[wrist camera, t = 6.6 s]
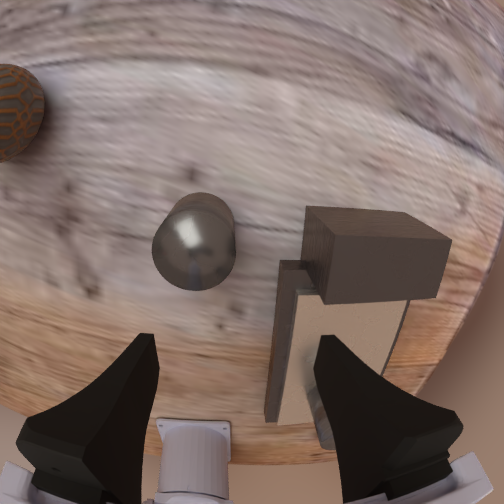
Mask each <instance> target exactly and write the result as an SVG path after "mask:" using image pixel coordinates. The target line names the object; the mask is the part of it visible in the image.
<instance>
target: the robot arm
mask: <svg viewBox="0 0 504 504" xmlns="http://www.w3.org/2000/svg"><path fill="white" fill-rule="evenodd" d="M159 369H160V367H159V362H158V356H157V351H156V345H155V339H154V334H148V333H140V334H139V335H138V336H137V337H136V338H135V339H134V340H133V341H132V343H131V344H130V345H129V346H128V347H127V348H126V349H125V350H124V352H123V353H122V354H121V355H120V356H119V357H118V358H117V359H116V360H115V361H114V362H113V363H112V364H111V365H110V366H109V367H108V368H107V369H106V370H105V371H104V372H103V373H102V374H101V375H100V376H99V377H98V378H97V379H95V380H94V381H93V382H92V383H91V384H89V385H88V386H87V387H85V388H84V389H83V390H81V391H80V392H78V393H77V394H75V395H74V396H72V397H71V398H69V399H67V400H66V401H64V402H62V403H60V404H59V405H57V406H55V407H53V408H51V409H48V410H46V411H44V412H41V413H39V414H36V415H34V416H31V417H28V418H27V419H26V421H25V423H24V425H23V427H22V429H21V431H20V434H19V436H18V438H17V440H16V445H17V447H18V449H19V451H20V452H21V453H22V454H23V456H24V457H25V458H26V459H27V460H28V461H29V462H30V463H31V464H32V465H33V466H34V467H35V468H36V469H35V472H34V474H33V473H32V472H30V471H28V470H27V469H24V468H22V467H20V466H18V465H15V464H14V463H11V462H9V461H6V463H5V465H4V468H3V471H2V473H1V476H0V504H141V483H142V464H143V452H144V442H145V435H146V429H147V425H148V421H149V417H150V413H151V409H152V405H153V402H154V398H155V394H156V390H157V385H158V377H159ZM313 370H314V376H315V381H316V385H317V389H318V392H319V395H320V398H321V401H322V404H323V406H324V409H325V412H326V415H327V418H328V420H329V423H330V426H331V430H332V433H333V438H334V442H335V447H336V452H337V458H338V463H339V470H340V477H341V485H342V496H343V504H475V503H477V502H478V501H479V500H481V499H482V498H484V497H485V496H486V495H487V494H489V493H490V492H492V491H493V487H492V485H491V483H490V481H489V479H488V477H487V475H486V473H485V472H484V470H483V468H482V466H481V464H480V463H479V461H478V459H477V457H476V455H475V454H474V452H473V451H471V452H469V453H468V454H465V455H463V456H461V457H459V458H457V459H455V460H454V461H452V462H451V463H450V464H449V462H448V460H447V458H449V457H450V454H449V452H448V448H449V447H450V446H451V445H452V444H453V443H454V441H455V440H456V439H457V438H458V437H459V436H460V434H461V433H462V430H463V424H462V423H461V421H460V419H459V418H458V416H457V415H456V413H455V411H452V410H449V409H446V408H442V407H439V406H436V405H433V404H431V403H428V402H426V401H423V400H421V399H419V398H416V397H415V396H413V395H411V394H409V393H407V392H405V391H403V390H401V389H400V388H398V387H396V386H395V385H393V384H392V383H390V382H389V381H387V380H386V379H384V378H383V377H382V376H380V375H379V374H378V373H376V372H375V371H374V370H373V369H371V368H370V367H369V366H368V365H367V364H365V363H364V362H363V361H362V360H361V359H360V358H359V357H358V356H356V355H355V354H354V353H353V352H352V351H351V350H350V349H349V348H348V347H347V346H346V345H345V344H344V343H343V342H342V341H341V340H340V339H339V338H338V337H336V336H335V335H334V334H333V335H321V338H320V342H319V347H318V351H317V355H316V359H315V363H314V367H313ZM156 425H157V428H158V430H159V433H160V436H161V439H162V442H163V449H162V456H161V464H160V473H159V482H158V491H157V492H156V493H155V501H154V500H153V499H147V501H144V502H143V503H142V504H233V501H232V500H229V487H228V462H229V461H231V446H230V423H229V422H227V421H192V420H175V419H162V418H158V419H156Z"/></svg>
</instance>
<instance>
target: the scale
mask: <svg viewBox="0 0 504 504" xmlns="http://www.w3.org/2000/svg"><path fill="white" fill-rule="evenodd" d="M451 243H452V239H450V238H448V237H447V236H445V235H443V234H442V233H440V232H438V231H437V230H435V229H433V228H432V227H430V226H428V225H426V224H425V223H423V222H421V221H419V220H418V219H416V218H414V217H412V216H410V215H408V214H407V213H405V212H394V211H382V210H369V209H354V208H339V207H321V206H306V213H305V223H304V233H303V243H302V252H301V260H280V265H279V277H278V287H277V298H276V308H275V318H274V328H273V337H272V347H271V356H270V365H269V374H268V382H267V391H266V399H265V407H264V414H265V422H266V423H268V422H277V425H290V424H301V423H310V422H314V421H313V417H312V414H311V410H310V407H309V404H308V400H307V397H308V394H309V392H310V391H311V390H312V389H313V388H314V387H315V386H316V381H315V376H314V370H313V367H314V363H315V359H316V355H317V351H318V347H319V342H320V338H321V335H333V334H334V335H335V336H336V337H338V338H339V339H340V340H341V341H342V342H343V343H344V344H345V345H346V346H347V347H348V348H349V349H350V350H351V351H352V352H353V353H354V354H355V355H356V356H358V357H359V358H360V359H361V360H362V361H363V362H364V363H365V364H367V365H368V366H369V367H370V368H371V369H373V370H374V371H375V372H376V373H378V374H379V375H380V376H383V373H384V371H385V369H386V366H387V364H388V361H389V359H390V356H391V354H392V351H393V349H394V346H395V344H396V341H397V338H398V335H399V333H400V330H401V327H402V324H403V321H404V318H405V315H406V312H407V309H408V306H409V303H410V300H417V299H429V298H436V296H437V292H438V289H439V286H440V283H441V280H442V276H443V273H444V270H445V266H446V262H447V259H448V255H449V251H450V247H451Z"/></svg>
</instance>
